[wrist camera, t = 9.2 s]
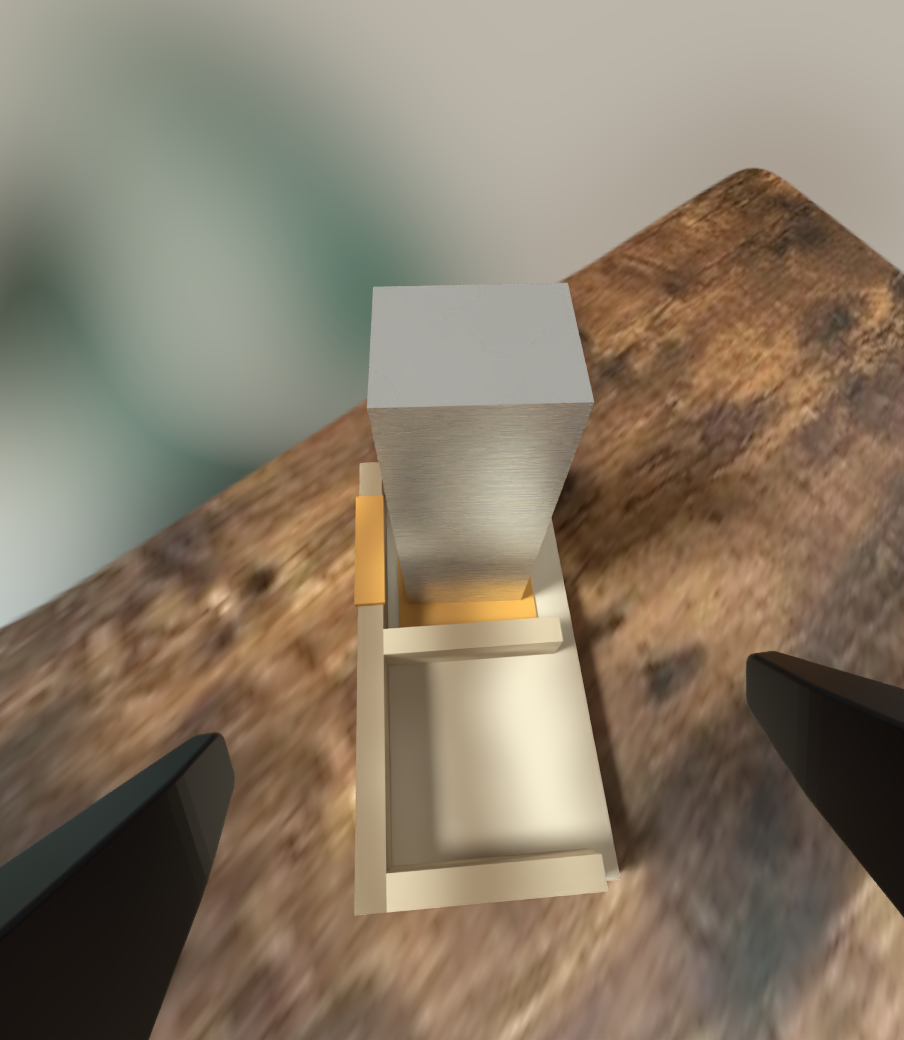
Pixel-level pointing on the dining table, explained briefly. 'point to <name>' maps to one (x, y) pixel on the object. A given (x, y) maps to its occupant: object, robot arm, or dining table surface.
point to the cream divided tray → (469, 739)
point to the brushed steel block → (474, 429)
